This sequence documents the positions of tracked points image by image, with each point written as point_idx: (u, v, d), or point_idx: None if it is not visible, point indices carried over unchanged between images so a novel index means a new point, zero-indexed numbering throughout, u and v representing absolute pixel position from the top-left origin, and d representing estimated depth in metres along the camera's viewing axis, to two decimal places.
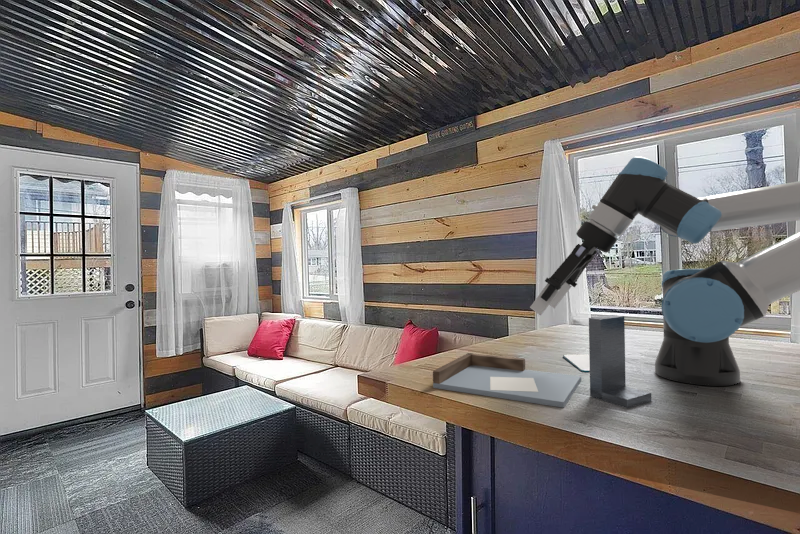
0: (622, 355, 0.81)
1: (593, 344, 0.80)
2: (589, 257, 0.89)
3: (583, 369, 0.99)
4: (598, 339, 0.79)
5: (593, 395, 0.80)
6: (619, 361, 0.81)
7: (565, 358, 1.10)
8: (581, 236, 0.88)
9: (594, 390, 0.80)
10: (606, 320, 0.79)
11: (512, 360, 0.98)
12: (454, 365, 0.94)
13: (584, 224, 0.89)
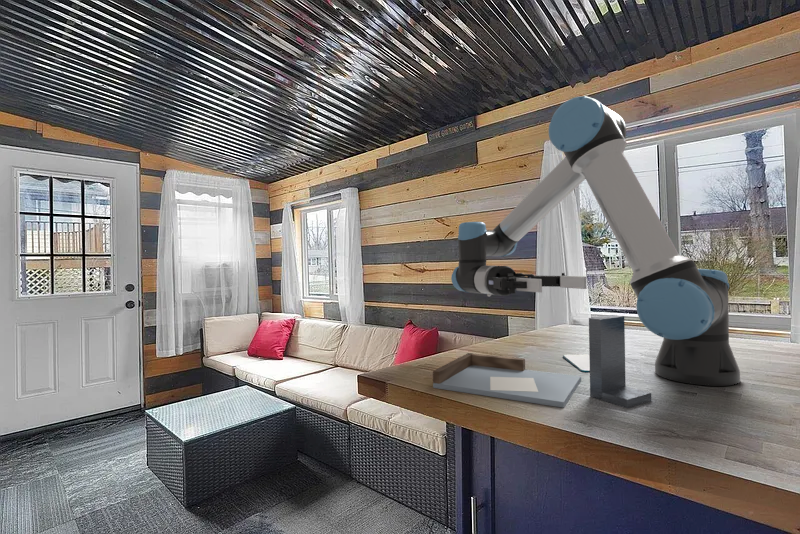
0: (622, 355, 0.81)
1: (593, 344, 0.80)
2: (507, 274, 1.02)
3: (583, 369, 0.99)
4: (598, 339, 0.79)
5: (593, 395, 0.80)
6: (619, 361, 0.81)
7: (565, 358, 1.10)
8: (496, 289, 1.04)
9: (594, 390, 0.80)
10: (606, 320, 0.79)
11: (512, 360, 0.98)
12: (454, 365, 0.94)
13: (493, 293, 1.07)
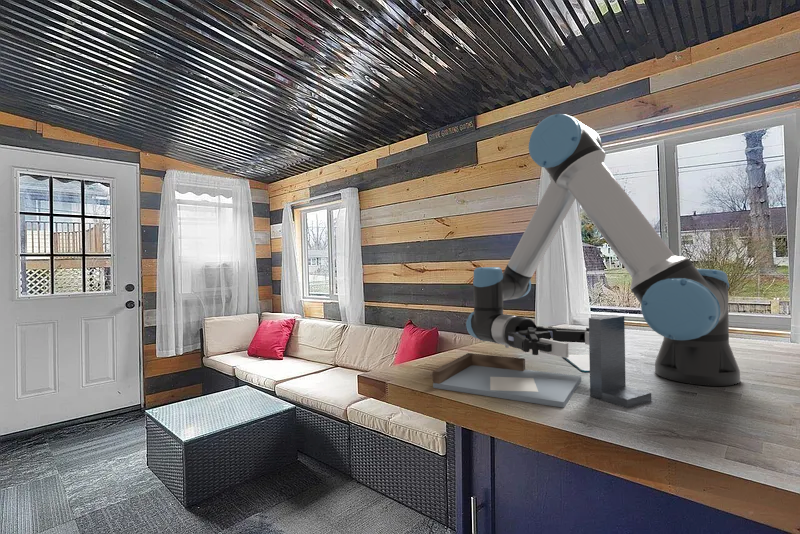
0: (622, 355, 0.81)
1: (593, 344, 0.80)
2: (528, 329, 0.96)
3: (583, 369, 0.99)
4: (598, 339, 0.79)
5: (593, 395, 0.80)
6: (619, 361, 0.81)
7: (565, 358, 1.10)
8: None
9: (594, 390, 0.80)
10: (606, 320, 0.79)
11: (512, 360, 0.98)
12: (454, 365, 0.94)
13: (512, 346, 1.01)
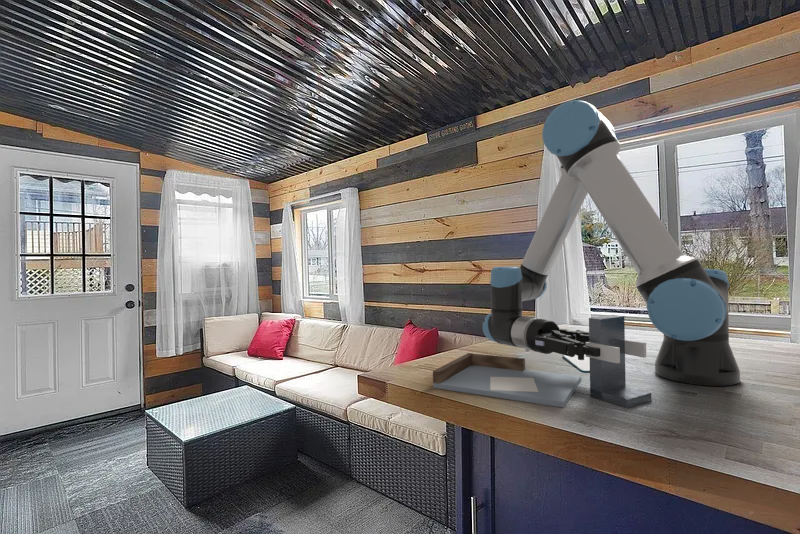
0: (622, 355, 0.81)
1: None
2: (552, 332, 0.90)
3: (583, 369, 0.99)
4: (598, 338, 0.79)
5: (593, 395, 0.80)
6: None
7: (565, 358, 1.10)
8: None
9: (594, 390, 0.80)
10: (606, 320, 0.79)
11: (512, 360, 0.98)
12: (454, 365, 0.94)
13: (534, 350, 0.95)
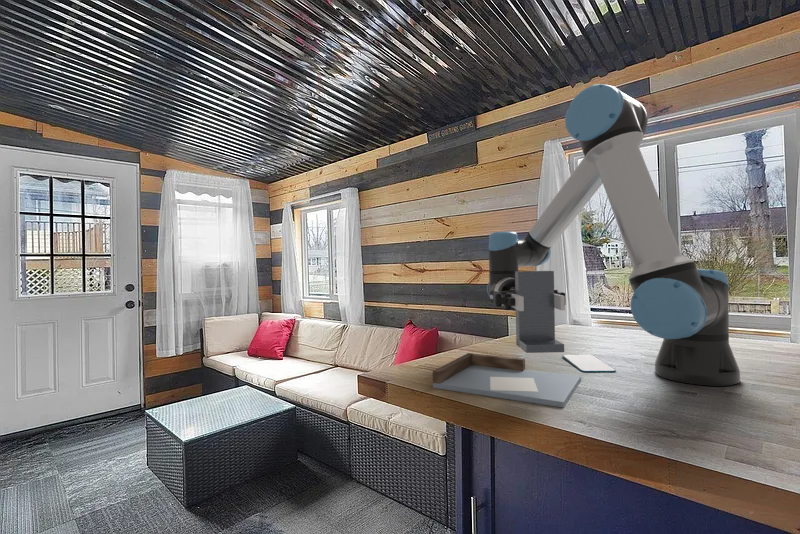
0: (551, 309, 0.84)
1: None
2: (511, 289, 0.97)
3: (583, 369, 0.99)
4: (517, 290, 0.85)
5: (517, 343, 0.86)
6: (545, 314, 0.84)
7: (565, 358, 1.10)
8: (503, 303, 1.00)
9: (517, 338, 0.86)
10: (526, 273, 0.84)
11: (512, 360, 0.98)
12: (454, 365, 0.94)
13: None
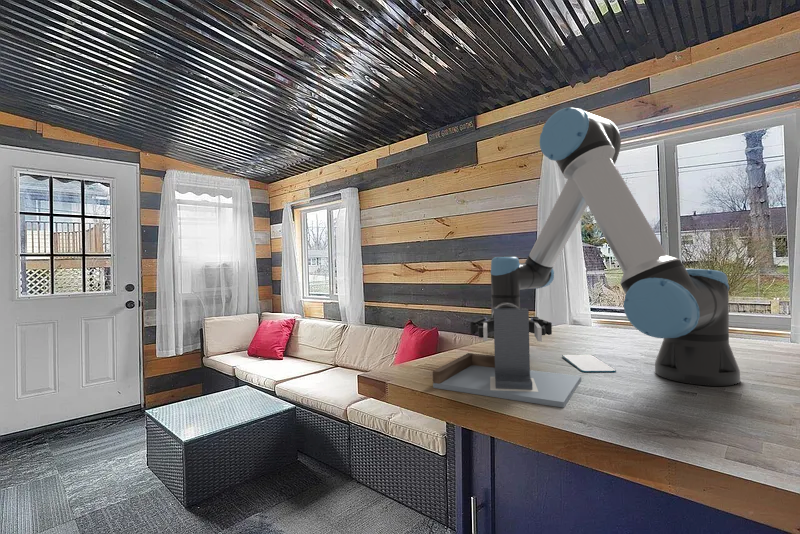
0: (525, 346, 0.87)
1: None
2: None
3: (583, 369, 0.99)
4: (494, 327, 0.89)
5: None
6: (520, 351, 0.87)
7: (564, 358, 1.10)
8: None
9: None
10: (502, 311, 0.88)
11: None
12: (454, 365, 0.94)
13: None
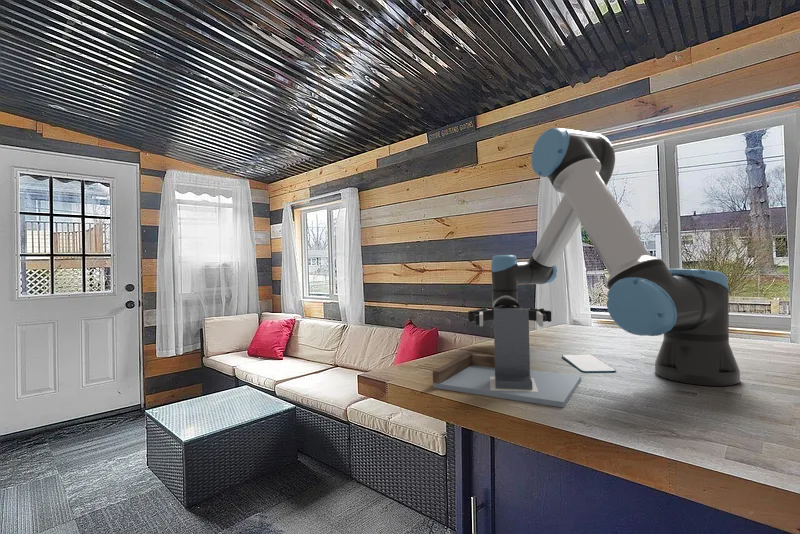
0: (525, 346, 0.87)
1: None
2: None
3: (583, 369, 0.99)
4: (494, 327, 0.89)
5: None
6: (520, 351, 0.87)
7: (564, 358, 1.10)
8: None
9: None
10: (502, 311, 0.88)
11: None
12: (454, 365, 0.94)
13: None
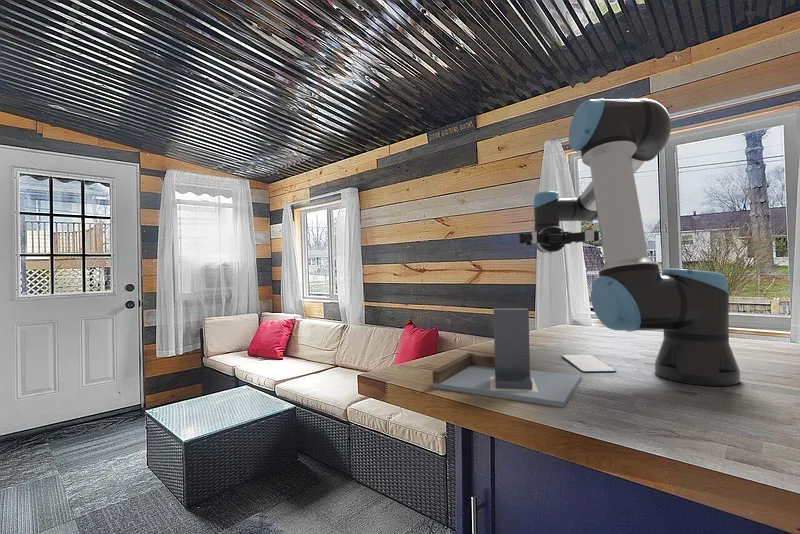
0: (525, 346, 0.87)
1: None
2: None
3: (583, 369, 0.98)
4: (494, 327, 0.89)
5: None
6: (520, 351, 0.87)
7: (564, 358, 1.10)
8: (542, 246, 1.25)
9: None
10: (502, 311, 0.88)
11: None
12: (454, 365, 0.94)
13: (544, 250, 1.27)
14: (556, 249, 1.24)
